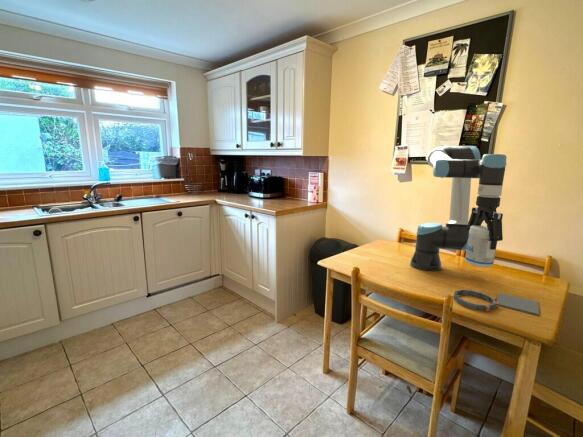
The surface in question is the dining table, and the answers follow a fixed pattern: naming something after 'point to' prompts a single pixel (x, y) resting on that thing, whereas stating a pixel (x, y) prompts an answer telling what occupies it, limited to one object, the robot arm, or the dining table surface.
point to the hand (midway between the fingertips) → (480, 252)
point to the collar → (473, 305)
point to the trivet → (518, 303)
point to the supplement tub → (478, 247)
